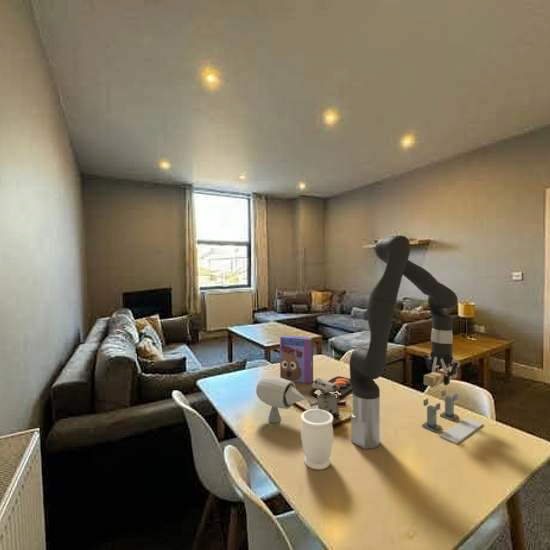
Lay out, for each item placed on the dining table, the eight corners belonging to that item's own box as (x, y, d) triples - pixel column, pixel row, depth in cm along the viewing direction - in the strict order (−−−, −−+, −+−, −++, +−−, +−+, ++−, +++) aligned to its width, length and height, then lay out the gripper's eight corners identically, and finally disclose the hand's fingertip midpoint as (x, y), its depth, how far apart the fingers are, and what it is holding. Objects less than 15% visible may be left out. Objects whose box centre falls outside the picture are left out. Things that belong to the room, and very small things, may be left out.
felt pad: (456, 444, 108) (456, 442, 108) (439, 436, 113) (439, 435, 113) (483, 424, 121) (483, 423, 121) (466, 418, 126) (466, 417, 126)
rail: (432, 387, 116) (433, 378, 116) (423, 384, 119) (423, 375, 119) (457, 376, 127) (457, 368, 127) (448, 374, 130) (448, 365, 130)
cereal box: (280, 379, 171) (279, 336, 170) (283, 376, 175) (283, 334, 174) (310, 384, 164) (310, 339, 163) (313, 381, 168) (312, 337, 168)
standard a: (435, 432, 116) (435, 406, 116) (421, 426, 120) (421, 401, 120) (441, 428, 119) (442, 402, 119) (428, 422, 123) (428, 397, 123)
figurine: (324, 408, 137) (324, 374, 136) (342, 419, 127) (342, 383, 126) (307, 413, 132) (307, 378, 131) (325, 425, 122) (324, 387, 122)
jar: (333, 474, 93) (333, 426, 93) (299, 470, 96) (298, 422, 95) (333, 453, 104) (333, 409, 103) (303, 450, 106) (302, 407, 105)
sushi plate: (337, 378, 173) (337, 372, 172) (391, 393, 153) (391, 385, 153) (307, 395, 151) (307, 388, 151) (365, 415, 131) (365, 406, 131)
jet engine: (272, 438, 113) (272, 391, 113) (252, 414, 131) (252, 374, 131) (307, 428, 120) (307, 384, 119) (283, 407, 138) (283, 368, 137)
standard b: (453, 421, 124) (453, 396, 124) (439, 416, 128) (439, 392, 128) (458, 417, 127) (459, 393, 127) (445, 412, 131) (445, 389, 131)
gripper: (419, 338, 126) (418, 379, 127) (455, 345, 115) (455, 391, 115) (429, 335, 130) (428, 376, 131) (465, 342, 119) (464, 386, 119)
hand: (440, 383), depth 123 cm, fingers closed on rail, 3 cm apart
